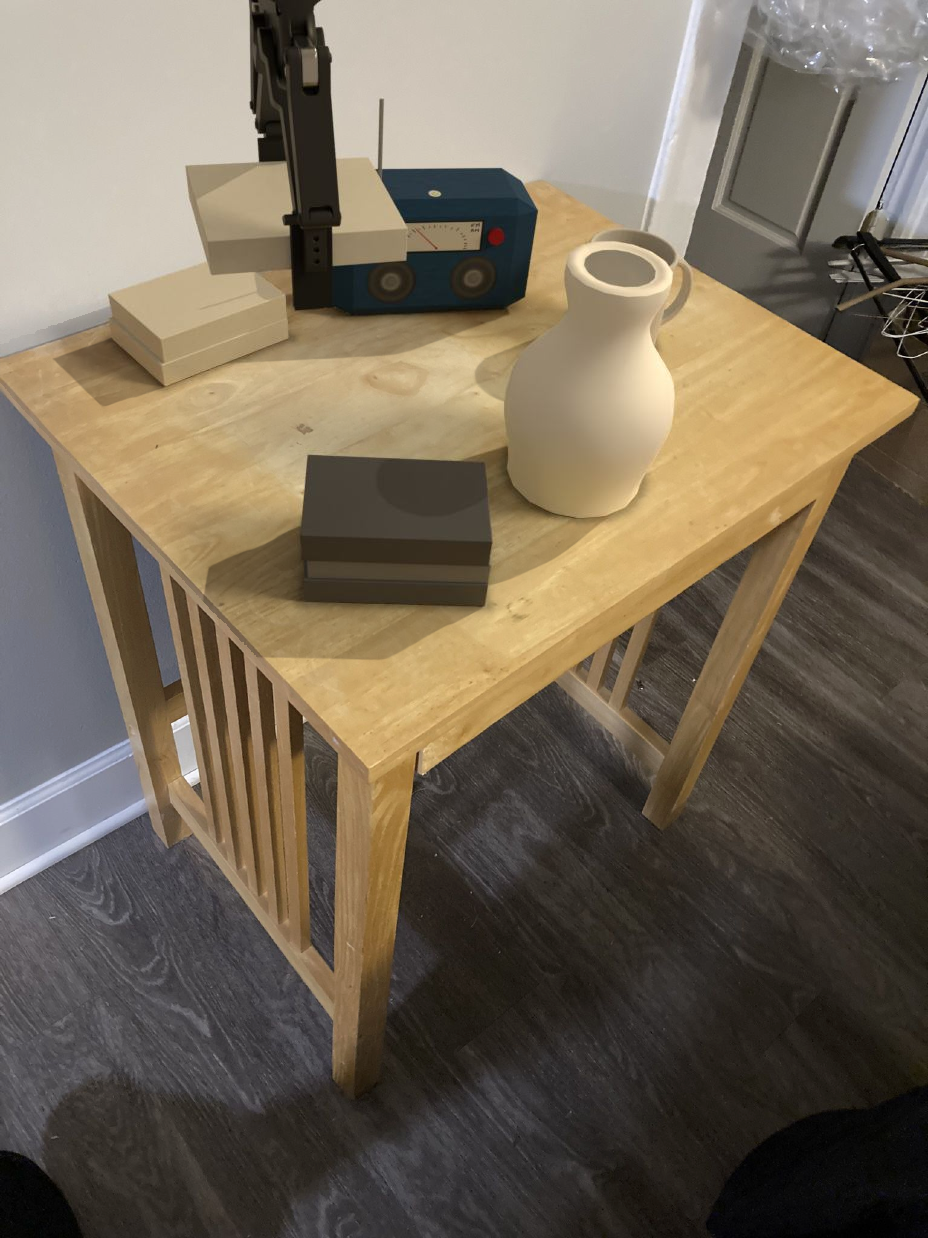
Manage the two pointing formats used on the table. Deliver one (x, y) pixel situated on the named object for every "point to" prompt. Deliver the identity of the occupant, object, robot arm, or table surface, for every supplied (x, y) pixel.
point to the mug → (665, 253)
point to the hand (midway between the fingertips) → (296, 263)
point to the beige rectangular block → (196, 320)
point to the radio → (447, 244)
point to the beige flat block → (259, 197)
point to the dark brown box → (395, 531)
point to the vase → (593, 387)
